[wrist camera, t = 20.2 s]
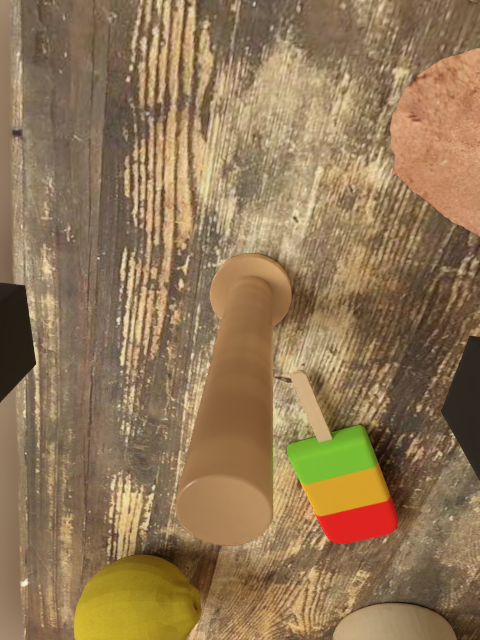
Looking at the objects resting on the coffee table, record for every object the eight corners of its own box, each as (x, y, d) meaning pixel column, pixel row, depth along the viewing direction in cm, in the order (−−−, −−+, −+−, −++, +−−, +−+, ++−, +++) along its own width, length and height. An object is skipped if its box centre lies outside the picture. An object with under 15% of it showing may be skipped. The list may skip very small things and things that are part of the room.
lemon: (109, 597, 39) (73, 704, 32) (76, 539, 36) (28, 643, 29) (222, 587, 38) (210, 698, 30) (198, 526, 35) (178, 633, 27)
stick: (245, 236, 24) (205, 407, 10) (307, 287, 25) (356, 511, 11) (195, 295, 26) (99, 515, 12) (255, 341, 27) (237, 595, 13)
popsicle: (327, 528, 34) (330, 549, 32) (256, 377, 28) (255, 393, 26) (397, 512, 32) (404, 534, 31) (337, 351, 27) (341, 367, 25)
